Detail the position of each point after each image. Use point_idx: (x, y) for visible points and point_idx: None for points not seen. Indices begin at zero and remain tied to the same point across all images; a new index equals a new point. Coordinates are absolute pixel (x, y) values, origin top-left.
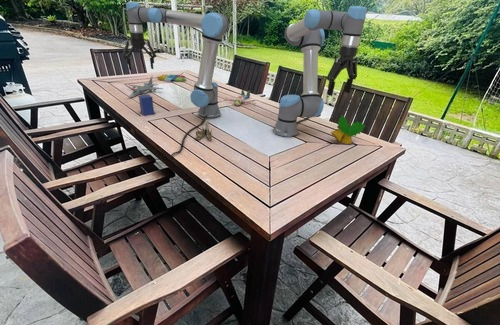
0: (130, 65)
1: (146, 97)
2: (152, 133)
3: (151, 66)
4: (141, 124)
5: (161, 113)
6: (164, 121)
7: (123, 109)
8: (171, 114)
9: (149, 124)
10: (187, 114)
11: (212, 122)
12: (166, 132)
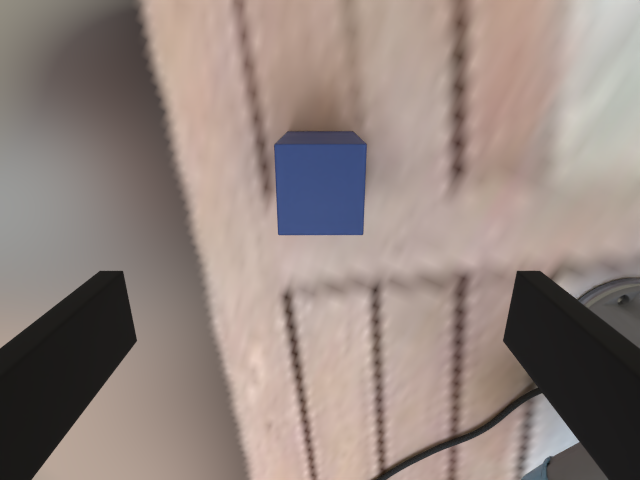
0: (83, 399)
1: (318, 228)
2: (262, 422)
3: (530, 335)
4: (243, 318)
5: (395, 203)
6: (357, 326)
7: (189, 3)
8: (438, 244)
9: (278, 333)
10: None
11: (547, 420)
12: (316, 434)
